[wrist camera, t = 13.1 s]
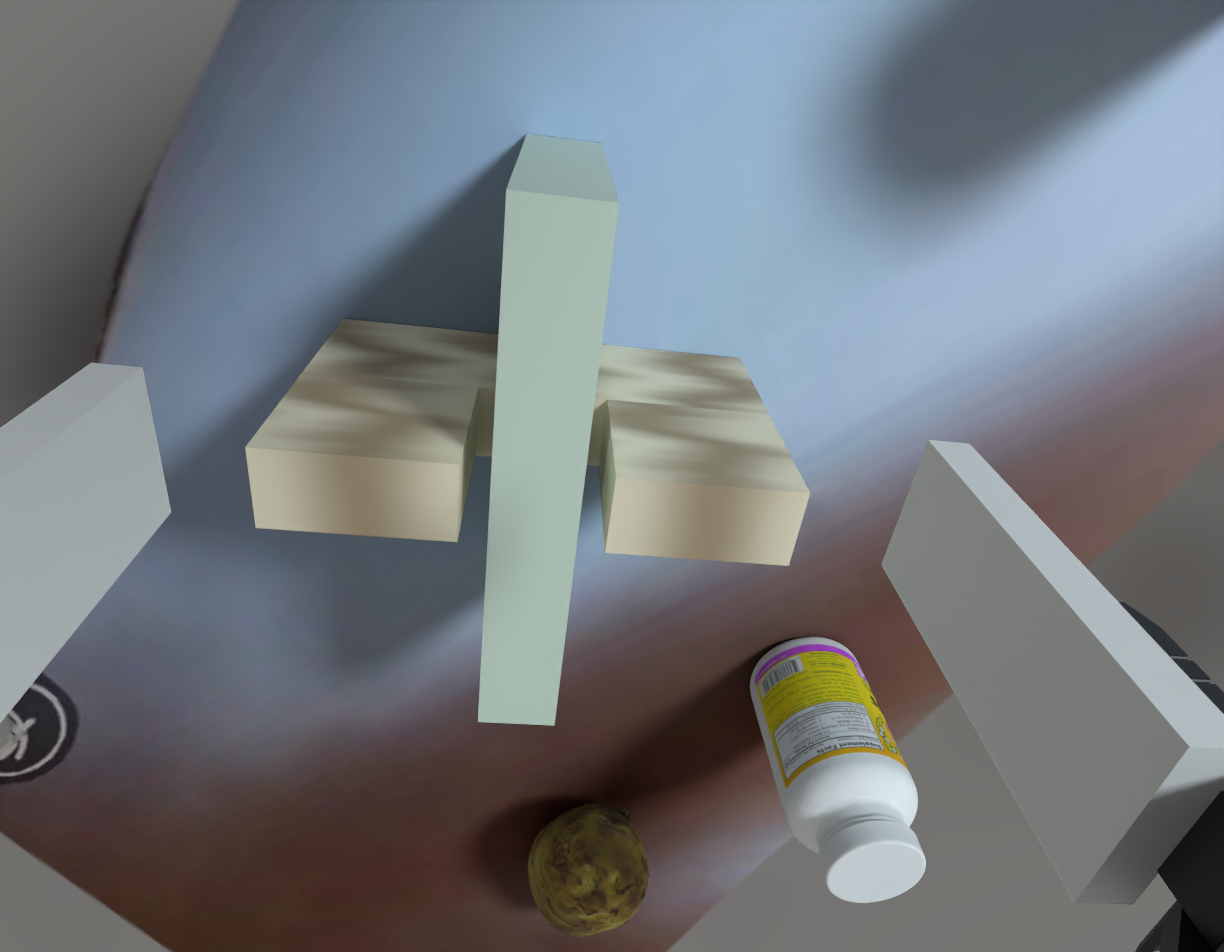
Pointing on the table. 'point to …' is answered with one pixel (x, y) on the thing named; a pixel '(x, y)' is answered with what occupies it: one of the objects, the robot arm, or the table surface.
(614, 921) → the potato
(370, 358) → the notched wooden block
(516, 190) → the sage slat
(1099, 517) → the table surface
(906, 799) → the supplement bottle
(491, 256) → the table surface
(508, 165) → the table surface
